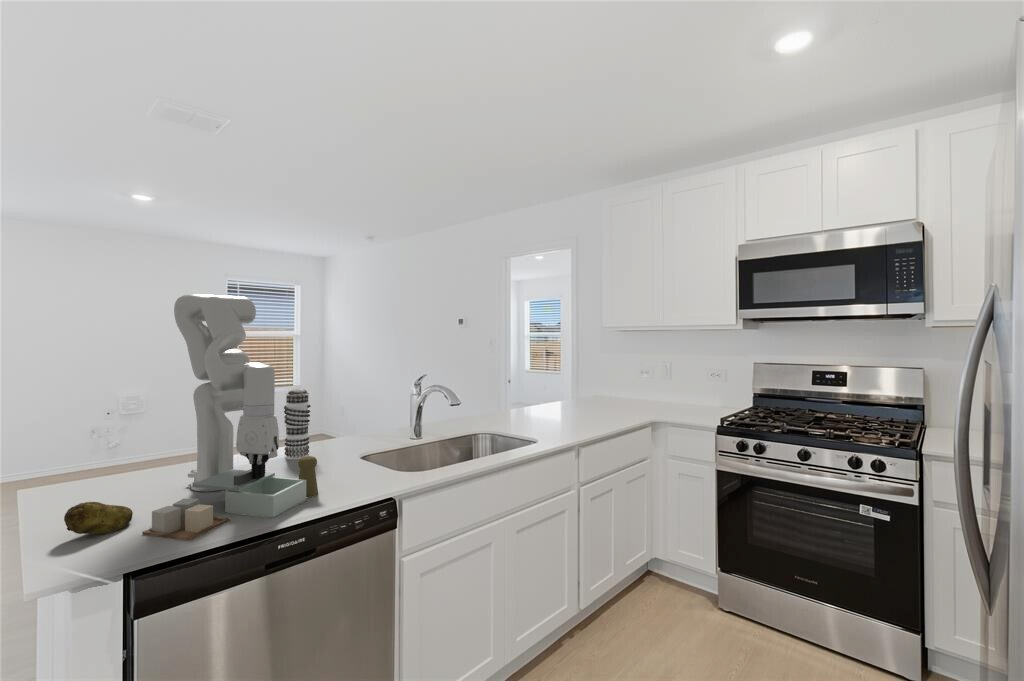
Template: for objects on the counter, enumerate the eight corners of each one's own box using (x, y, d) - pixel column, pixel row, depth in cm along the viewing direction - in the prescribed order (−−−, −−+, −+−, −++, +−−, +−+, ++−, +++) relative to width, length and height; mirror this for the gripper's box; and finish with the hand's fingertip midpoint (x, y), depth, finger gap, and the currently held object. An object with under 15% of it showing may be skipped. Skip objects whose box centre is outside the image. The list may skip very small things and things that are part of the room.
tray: (142, 536, 116) (142, 531, 116) (185, 517, 127) (185, 513, 127) (190, 542, 113) (190, 537, 113) (230, 522, 125) (230, 518, 125)
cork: (310, 498, 143) (310, 460, 142) (291, 496, 144) (291, 458, 144) (322, 491, 149) (322, 455, 148) (304, 490, 150) (304, 453, 150)
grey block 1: (151, 532, 117) (151, 511, 117) (168, 526, 121) (168, 505, 121) (164, 535, 116) (164, 513, 115) (180, 528, 119) (180, 507, 119)
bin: (225, 514, 130) (225, 491, 130) (262, 496, 144) (262, 475, 143) (273, 519, 127) (273, 496, 127) (306, 500, 141) (306, 479, 141)
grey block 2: (172, 524, 122) (172, 504, 122) (183, 518, 126) (183, 498, 126) (188, 524, 122) (188, 504, 121) (199, 518, 126) (199, 498, 125)
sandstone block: (185, 531, 118) (185, 510, 118) (198, 524, 122) (198, 504, 122) (199, 532, 117) (199, 511, 117) (213, 526, 121) (213, 505, 121)
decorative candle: (295, 452, 193) (296, 387, 192) (315, 454, 190) (316, 389, 189) (277, 458, 184) (278, 390, 183) (298, 460, 181) (298, 392, 180)
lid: (192, 486, 132) (192, 474, 131) (232, 471, 145) (232, 461, 145) (239, 491, 129) (239, 479, 129) (274, 475, 143) (274, 464, 142)
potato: (138, 530, 119) (138, 497, 119) (66, 547, 109) (66, 511, 109) (130, 521, 124) (130, 489, 124) (61, 536, 115) (60, 501, 114)
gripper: (224, 411, 133) (223, 479, 133) (274, 414, 130) (273, 484, 131) (244, 406, 140) (244, 471, 141) (292, 409, 137) (291, 476, 138)
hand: (258, 477), depth 136 cm, fingers closed
